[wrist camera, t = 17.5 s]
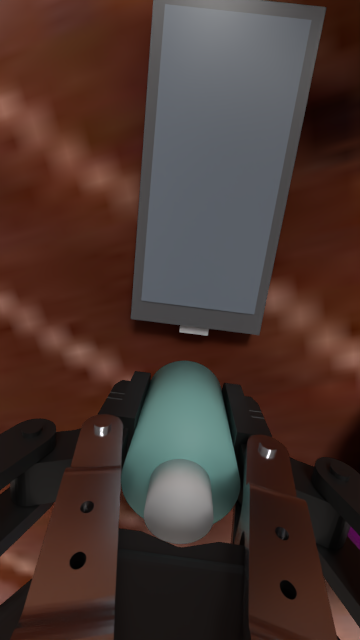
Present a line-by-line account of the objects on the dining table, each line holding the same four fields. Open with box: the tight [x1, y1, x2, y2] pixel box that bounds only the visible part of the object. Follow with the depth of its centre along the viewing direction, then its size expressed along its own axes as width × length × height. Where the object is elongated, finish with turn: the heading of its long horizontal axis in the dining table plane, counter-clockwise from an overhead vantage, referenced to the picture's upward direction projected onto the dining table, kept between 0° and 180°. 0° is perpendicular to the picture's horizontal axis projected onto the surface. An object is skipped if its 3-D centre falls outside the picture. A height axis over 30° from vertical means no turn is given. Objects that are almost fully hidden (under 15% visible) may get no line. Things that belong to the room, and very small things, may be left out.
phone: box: [131, 0, 326, 336], centre depth 13 cm, size 14×7×1 cm, turn 173°
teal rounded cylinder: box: [121, 361, 240, 544], centre depth 10 cm, size 4×4×6 cm
